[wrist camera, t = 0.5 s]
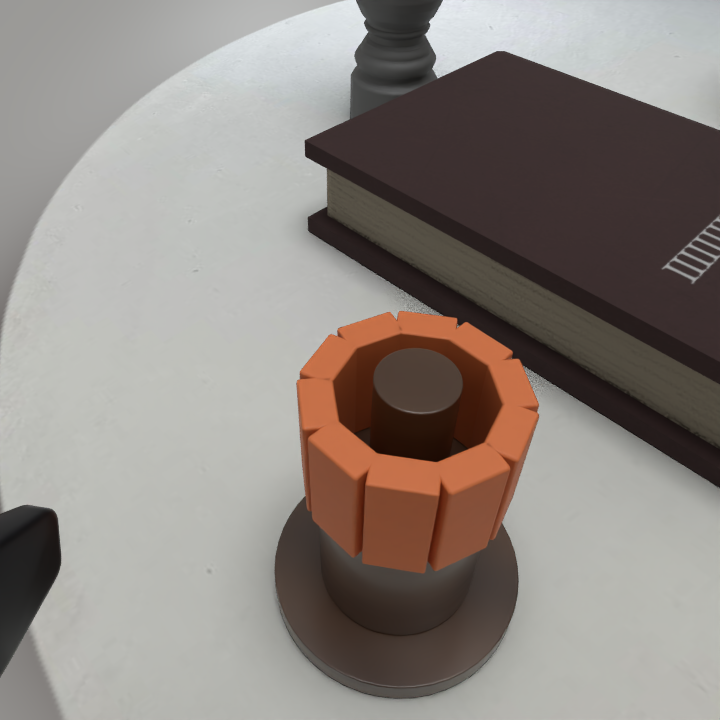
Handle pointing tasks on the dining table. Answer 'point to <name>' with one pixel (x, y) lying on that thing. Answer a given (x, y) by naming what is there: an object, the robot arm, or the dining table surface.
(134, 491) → the dining table surface
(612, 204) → the book
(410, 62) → the candle holder
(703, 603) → the dining table surface
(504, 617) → the peg stand
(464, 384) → the ring
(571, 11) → the dining table surface
